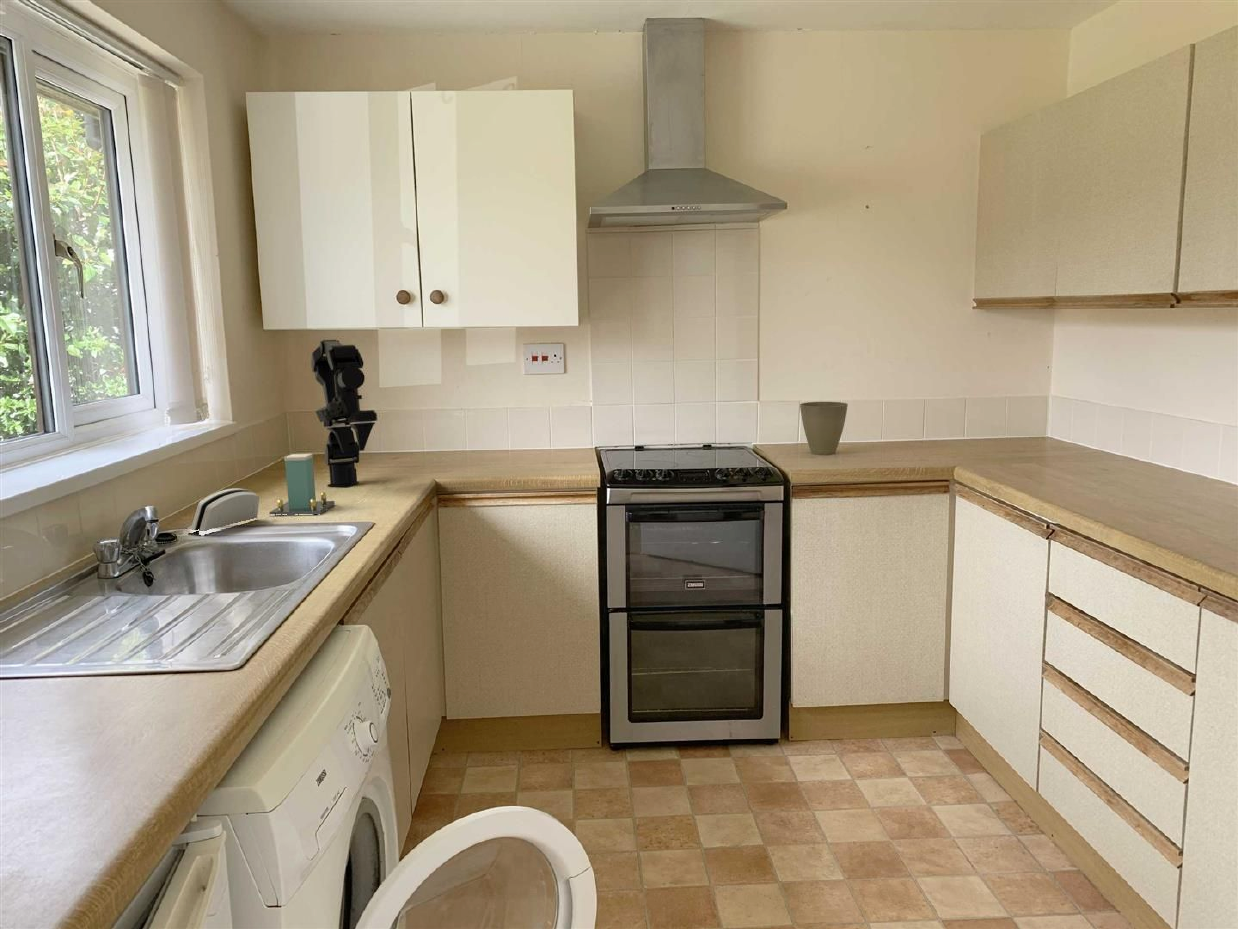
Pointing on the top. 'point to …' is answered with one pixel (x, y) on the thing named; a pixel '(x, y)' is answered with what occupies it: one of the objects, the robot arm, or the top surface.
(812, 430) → the plant pot
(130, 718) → the top surface
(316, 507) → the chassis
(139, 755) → the top surface
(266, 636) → the top surface
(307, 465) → the tea tin
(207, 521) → the grey napkin holder
